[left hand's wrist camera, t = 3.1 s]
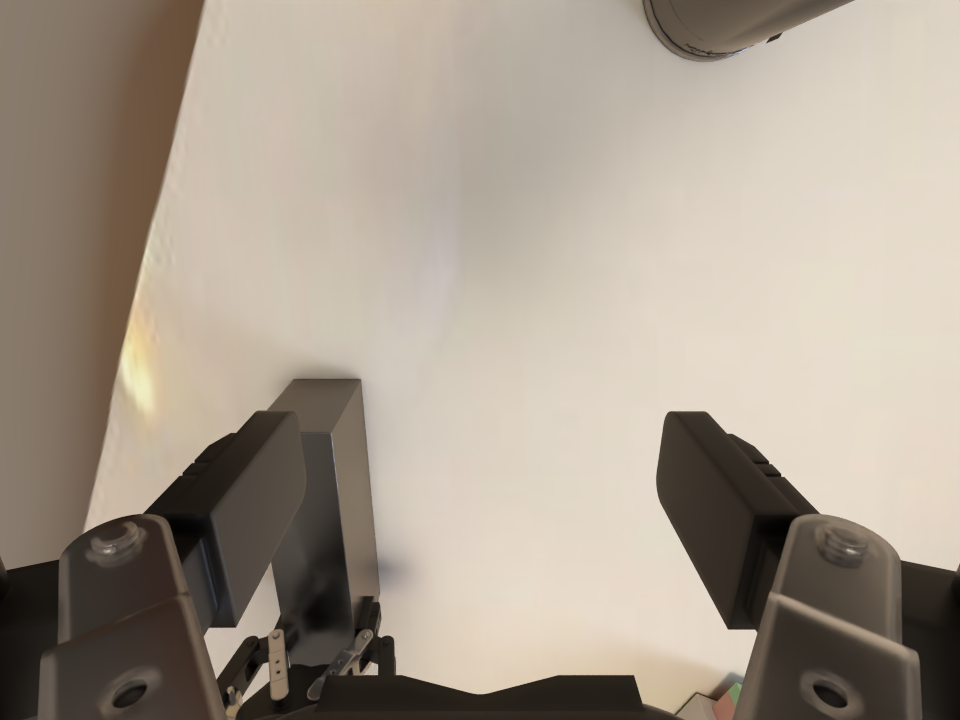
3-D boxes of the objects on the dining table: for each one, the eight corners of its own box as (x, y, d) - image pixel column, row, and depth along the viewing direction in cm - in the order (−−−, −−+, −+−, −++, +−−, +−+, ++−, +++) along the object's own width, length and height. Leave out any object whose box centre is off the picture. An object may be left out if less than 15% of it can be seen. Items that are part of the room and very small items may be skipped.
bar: (293, 379, 43) (247, 432, 34) (361, 379, 43) (331, 432, 34) (323, 592, 51) (292, 678, 42) (380, 592, 51) (359, 678, 42)
